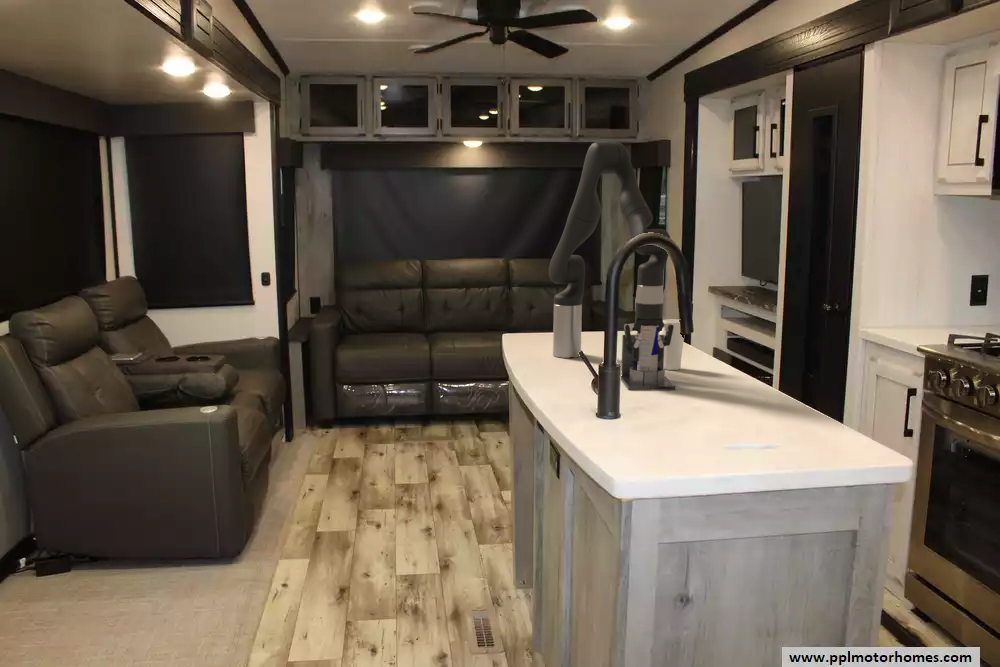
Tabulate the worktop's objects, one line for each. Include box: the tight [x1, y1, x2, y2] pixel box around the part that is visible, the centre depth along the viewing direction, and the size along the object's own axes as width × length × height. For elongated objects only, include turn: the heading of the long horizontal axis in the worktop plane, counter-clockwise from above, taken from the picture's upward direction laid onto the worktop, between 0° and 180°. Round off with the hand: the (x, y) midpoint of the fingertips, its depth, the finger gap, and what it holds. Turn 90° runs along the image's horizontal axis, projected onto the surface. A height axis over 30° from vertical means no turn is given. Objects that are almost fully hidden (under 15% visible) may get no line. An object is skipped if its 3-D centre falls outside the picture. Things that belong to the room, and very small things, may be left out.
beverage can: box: [637, 325, 660, 371], centre depth 231 cm, size 6×6×15 cm
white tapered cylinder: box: [661, 318, 685, 371], centre depth 251 cm, size 7×7×15 cm
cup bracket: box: [620, 334, 677, 391], centre depth 231 cm, size 14×13×13 cm
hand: (647, 360), depth 231 cm, fingers open, 5 cm apart
